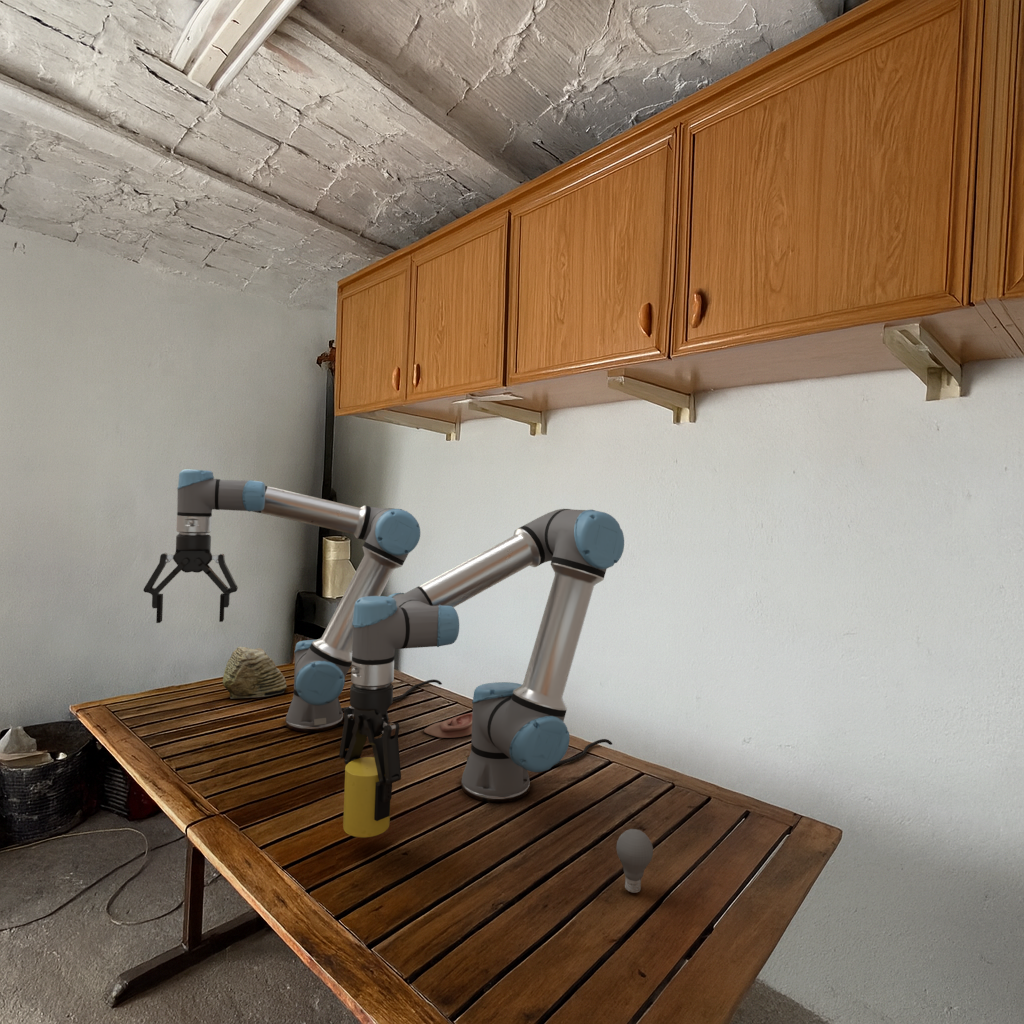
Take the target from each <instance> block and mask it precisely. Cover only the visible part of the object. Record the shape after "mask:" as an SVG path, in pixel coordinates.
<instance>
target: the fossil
mask: <svg viewBox="0 0 1024 1024" xmlns="http://www.w3.org/2000/svg"><path fill="white" fill-rule="evenodd" d="M222 676H223V677H222V685H223V687H224V688H225V690H226V691H228V693H229V698H230V699H250V698H264V697H271V696H275V695H281V694H284V693H285V691H286V689H287V687H288V686H287V680H286V678H285V676H284V674H283V673H282V672H281V669H279V668H278V667H277V665H276V663H275V662H274V660H273V659H272V658H271V657H270V656H269V655H268V654H267V653H266V652H265V650H264V649H263V648H260V647H258V648H251V647H247V646H246V647H245V646H238V647H237V648H236V649H235V650H233V651H232V653H231V656H230V657H229V659H228V660H227V663H226V666H225V668H224V671H223V675H222Z"/></svg>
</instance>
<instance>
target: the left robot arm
mask: <svg viewBox="0 0 1024 1024" xmlns="http://www.w3.org/2000/svg"><path fill="white" fill-rule="evenodd" d="M176 489H177V498H176V499H177V500H176V501H177V503H176V504H177V505H176V506H177V508H176V510H177V511H176V530H175V531H176V532H177V533H178V534H176V536H175V537H176V538H175V551H174V554H171V553H167V552H163V553H161V554H160V555H159V563H158V564H157V565H156V568H155V569H154V571H153V573H152V574H151V576H150V578H149V579H148V581H147V583H146V584H145V586H144V588H143V592H144V593H148V594H150V595H151V596H152V597H151V608H152V609H156V616H155V617H156V620H155V623H156V624H160V623H162V622H163V609H164V608H163V607H164V593H160V592H162V590H163V589H164V588H165V587H167V585H168V584H169V583H170V582H171V581H172V580H173V579H174V578H175V577H177V576H178V574H179V573H180V572H184V573H195V574H196V573H197V574H198V573H202V572H203V573H204V574H205V575H207V576H208V578H209V579H210V580H211V581H212V582H213V583H214V584H215V586H216V587H217V588H218V589H219V590H220V591H221V592H222V593H221V594H220V596H219V619H218V620H219V623H223V622H224V620H225V608H229V607H230V596H231V594H232V593H236V592H237V591H238V589H239V586H238V585H237V583H236V581H235V579H234V577H233V575H232V573H231V571H230V569H229V566H228V565H227V562H226V556H225V554H224V553H219V554H212V551H211V550H212V549H211V548H212V536H211V532H212V521H213V520H212V519H213V513H212V512H213V510H216V511H220V510H221V511H238V512H239V511H241V512H252V513H257V514H262V515H267V516H272V517H275V518H279V519H285V520H289V521H293V522H298V523H302V524H306V525H311V526H316V527H320V528H325V529H330V530H333V531H337V532H343V533H346V534H347V533H348V534H351V535H353V536H354V537H355V538H356V539H357V540H362V541H364V543H363V545H362V551H363V557H362V559H361V561H360V563H359V565H358V567H357V569H356V570H355V573H354V574H353V576H352V578H351V580H350V582H349V583H348V586H347V587H346V590H345V592H343V593H344V594H343V595H342V597H341V599H340V601H339V603H338V605H337V607H336V608H335V611H334V612H333V615H332V616H331V618H330V620H329V622H328V624H327V626H326V628H325V630H324V632H323V634H322V635H321V637H320V638H318V639H307V640H300V641H298V642H297V643H295V648H294V649H295V650H293V651H294V672H293V673H294V674H293V675H294V676H293V695H292V696H293V697H292V699H291V702H290V704H289V708H288V711H287V713H286V715H285V726H286V728H287V729H289V730H291V731H294V732H295V731H296V732H301V733H316V732H325V731H329V730H332V729H335V728H337V727H339V726H340V725H342V723H344V708H346V707H347V706H346V707H345V706H344V707H342V706H341V702H340V699H339V696H341V694H342V692H343V690H344V688H345V683H346V679H345V678H346V676H347V674H348V673H349V670H350V669H351V668H352V634H353V625H352V622H353V614H354V605H355V602H356V601H357V600H358V599H359V598H362V597H366V596H382V593H383V592H384V590H385V588H386V586H387V584H388V582H389V580H390V578H391V576H392V574H393V572H394V571H395V570H396V569H398V568H401V567H403V565H404V564H405V562H406V560H407V558H408V556H409V554H410V553H411V552H412V551H413V550H415V548H416V547H417V545H418V544H419V542H420V539H421V527H420V523H419V522H418V519H417V518H416V517H415V516H414V515H413V514H412V513H410V512H409V511H407V510H404V509H402V508H394V507H393V508H391V507H388V508H387V507H374V506H369V505H362V506H361V507H359V506H354V505H350V504H345V503H341V502H336V501H334V500H333V501H332V500H329V499H324V498H320V497H317V496H311V495H307V494H303V493H298V492H293V491H290V490H285V489H282V488H278V487H273V486H269V485H266V484H265V482H264V481H260V480H259V481H258V480H253V479H252V480H251V479H248V480H246V479H220V478H215V477H214V472H213V471H212V470H207V469H205V470H203V469H187V468H186V469H181V470H180V471H179V473H178V484H177V488H176ZM172 560H173V562H175V564H176V567H175V568H174V569H173V570H172V571H171V572H169V574H168V575H167V576H166V577H165V578H164V579H163V580H162V581H161V582H160V583H159V584H158V585H157V586H155V587H154V585H155V584H156V582H157V581H158V580H159V578H160V575H161V574H162V573H163V570H164V569H165V567H166V565H167V564H169V563H170V562H171V561H172ZM212 561H214V562H215V564H218V566H219V568H220V570H221V572H222V574H223V576H224V578H225V580H226V582H227V585H226V583H225V582H224V581H223V580H222V579H221V577H219V576H218V575H217V573H216V572H214V570H213V568H212V567H211V565H209V564H210V563H211V562H212ZM228 585H229V587H228ZM432 683H436V684H438V685H443V683H442V681H440V680H438V679H429V680H425V681H423V682H420V683H416V684H414V685H413V686H411V687H410V688H409V689H408V690H406V691H405V692H404V693H403V694H401V695H398V696H396V697H393V702H396V701H399V700H402V699H403V698H406V696H408V695H409V694H410V693H411V692H413V691H414V690H415V689H417V688H419V687H423V686H425V685H429V684H432ZM393 702H392V703H393Z"/></svg>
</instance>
